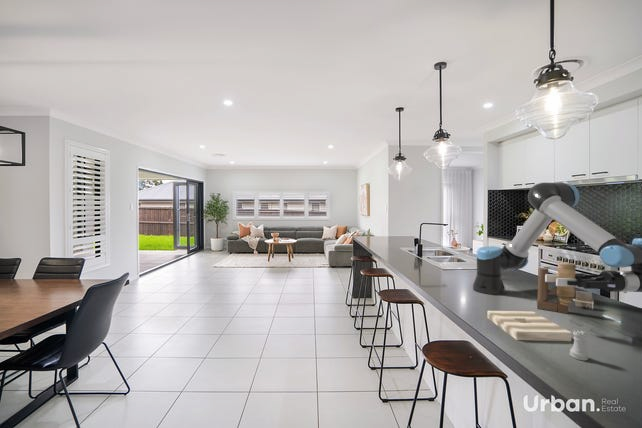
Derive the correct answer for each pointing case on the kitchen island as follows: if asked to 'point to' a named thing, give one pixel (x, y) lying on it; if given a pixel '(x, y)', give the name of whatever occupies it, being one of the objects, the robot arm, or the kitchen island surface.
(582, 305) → the architectural model
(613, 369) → the kitchen island surface
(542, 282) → the wooden post with wedge
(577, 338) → the rook chess piece
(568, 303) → the oak leg
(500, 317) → the birch board
